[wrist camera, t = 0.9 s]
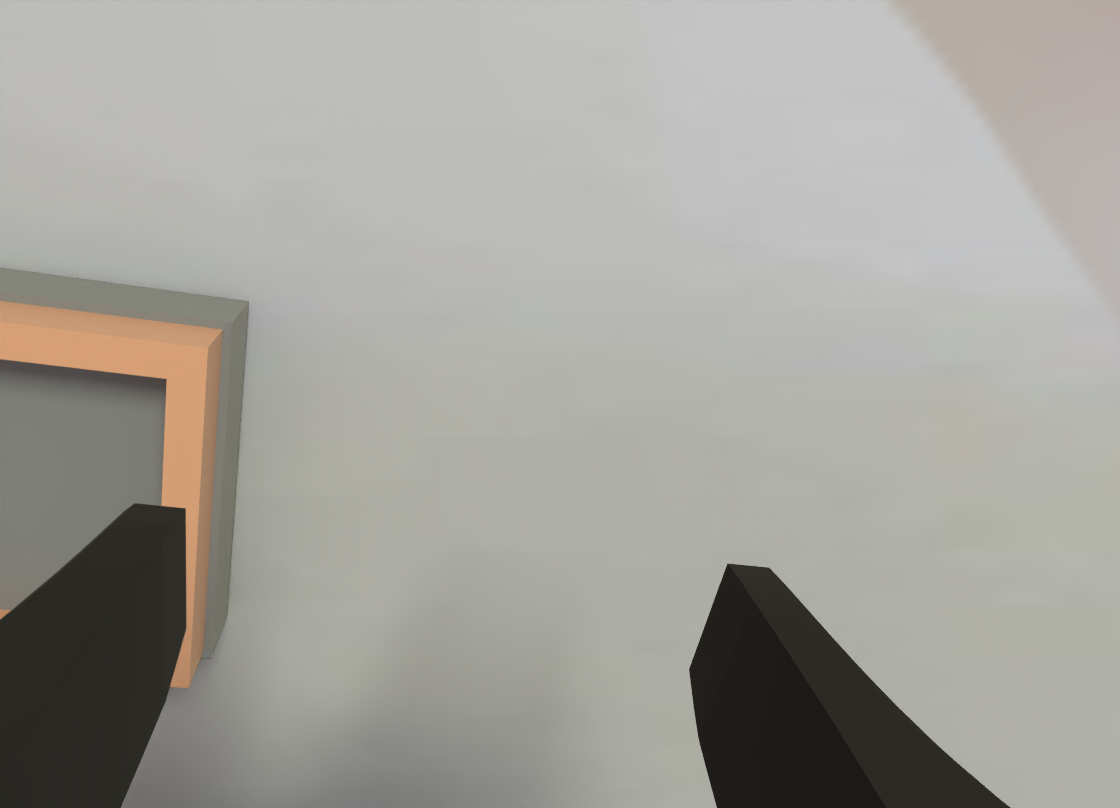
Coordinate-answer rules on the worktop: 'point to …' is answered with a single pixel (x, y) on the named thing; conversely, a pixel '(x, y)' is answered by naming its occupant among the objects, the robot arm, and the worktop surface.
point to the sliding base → (118, 430)
